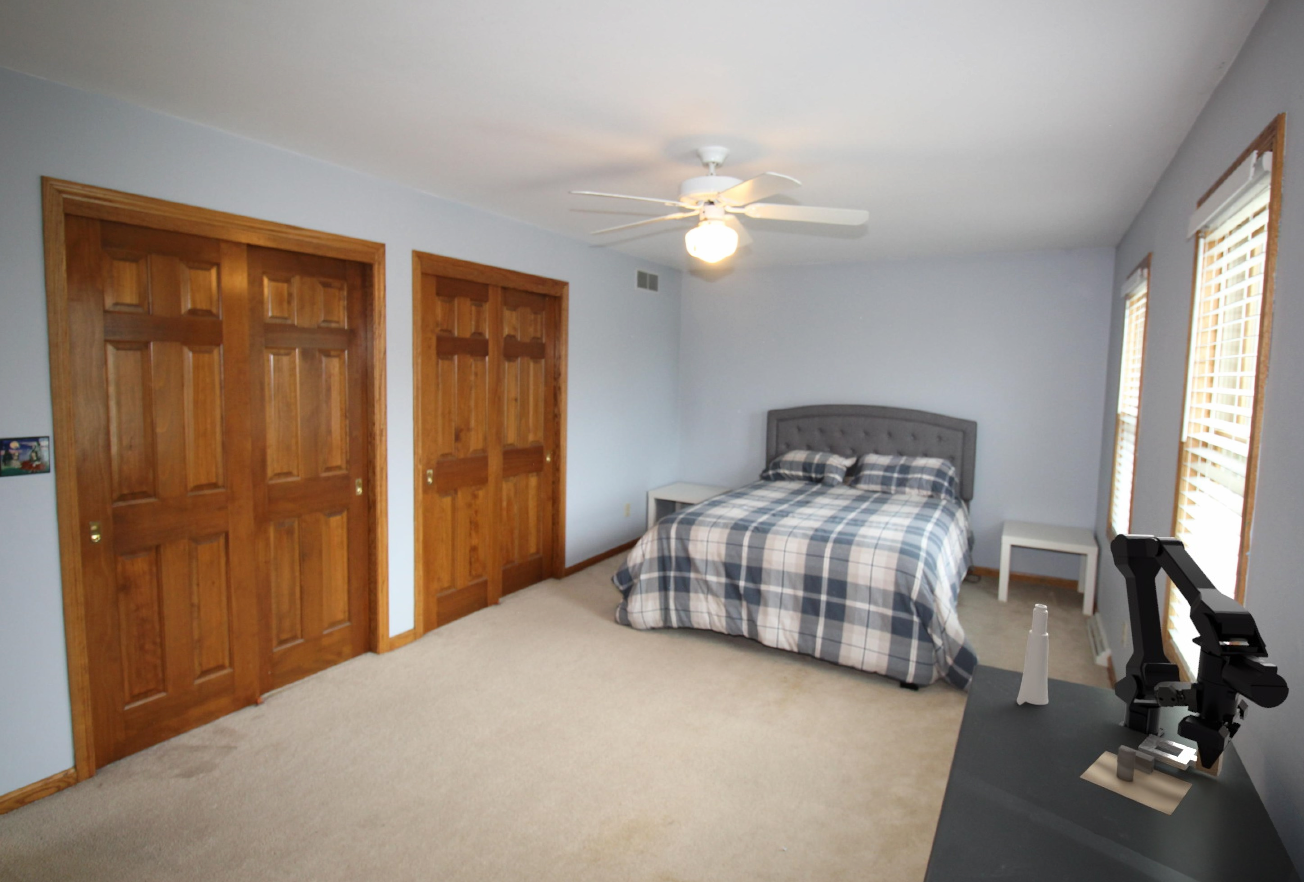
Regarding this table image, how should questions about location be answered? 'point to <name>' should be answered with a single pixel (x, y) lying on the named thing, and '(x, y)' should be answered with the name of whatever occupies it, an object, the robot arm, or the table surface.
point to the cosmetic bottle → (1036, 661)
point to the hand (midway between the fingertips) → (1208, 764)
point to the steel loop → (1183, 760)
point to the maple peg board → (1137, 779)
